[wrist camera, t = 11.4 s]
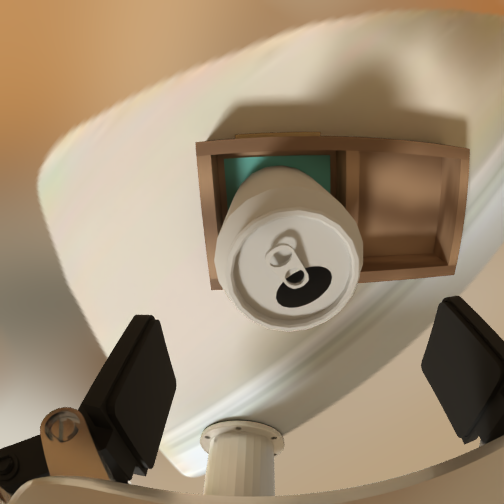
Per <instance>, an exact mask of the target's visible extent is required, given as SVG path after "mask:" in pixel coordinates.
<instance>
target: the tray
mask: <svg viewBox="0 0 504 504" xmlns="http://www.w3.org/2000/svg"><path fill="white" fill-rule="evenodd" d="M195 143H196V155H197V166H198V177H199V188H200V198H201V208H202V217H203V226H204V235H205V244H206V252H207V260H208V268H209V276H210V283H211V290H223V288H222V286H221V285H220V283H219V281H218V276H217V272H216V267H215V262H214V258H215V251H216V244H217V238H218V235H219V233H220V230H221V228H222V225H223V223H224V220H225V218H226V215H227V213H228V210H229V208H230V205H231V203H232V201H233V198H234V196H235V194H236V192H237V190H238V189H239V187H240V185H241V184H242V183H243V182H244V181H245V180H246V179H247V178H248V177H249V176H250V175H251V174H252V173H254V172H257V171H259V170H261V169H263V168H265V167H271V166H280V165H282V166H287V167H292V168H297V169H299V170H300V171H302V172H304V173H306V174H307V175H309V176H310V177H312V178H313V179H314V180H315V181H316V182H317V183H318V184H320V185H321V186H322V187H323V188H324V189H325V190H326V191H328V192H329V193H330V194H331V195H332V196H333V197H334V198H335V199H337V200H338V201H339V202H340V203H341V204H342V205H343V206H344V208H345V209H346V210H347V211H348V213H349V214H350V215H351V216H352V218H353V219H354V220H355V221H356V223H357V226H358V229H359V232H360V235H361V238H362V241H363V266H362V269H361V271H360V278H359V281H358V283H366V282H380V281H392V280H404V279H416V278H426V277H437V276H447V275H454V273H455V269H456V264H457V259H458V254H459V249H460V243H461V237H462V231H463V224H464V217H465V209H466V200H467V189H468V176H469V154H470V149H467V148H461V147H455V146H448V145H441V144H433V143H425V142H416V141H406V140H395V139H382V138H366V137H341V136H320V132H280V133H255V134H239V135H235V139H226V140H214V141H204V142H195Z"/></svg>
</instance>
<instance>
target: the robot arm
mask: <svg viewBox="0 0 504 504" xmlns="http://www.w3.org/2000/svg"><path fill="white" fill-rule="evenodd" d="M421 367H422V371H423V373H424V375H425V377H426V378H427V380H428V382H429V384H430V385H431V387H432V389H433V391H434V392H435V394H436V396H437V398H438V400H439V402H440V403H441V405H442V407H443V409H444V411H445V413H446V414H447V417H448V419H449V421H450V422H451V424H452V426H453V428H454V430H455V432H456V434H457V436H458V437H459V438H462V440H463V442H464V444H466V443H469V442H471V441H474V440H476V439H477V438H478V436H479V437H480V439H481V441H480V445H479V448H477V449H474V450H472V451H470V452H468V453H465V454H463V455H461V456H458V457H456V458H453V459H451V460H448V461H445V462H443V463H440V464H437V465H434V466H432V467H429V468H426V469H423V470H420V471H417V472H413V473H410V474H407V475H403V476H400V477H396V478H392V479H388V480H385V481H380V482H376V483H372V484H367V485H363V486H358V487H352V488H346V489H340V490H334V491H327V492H319V493H310V494H300V495H287V496H275V484H274V483H275V481H274V457H276V456H278V455H279V454H280V453H281V452H282V451H283V449H284V439H283V436H282V435H281V434H280V432H278V431H277V430H275V429H274V428H272V427H270V426H267V425H264V424H261V423H257V422H251V421H225V422H220V423H217V424H213V425H211V426H209V427H207V428H206V429H205V430H204V431H203V432H202V434H201V438H200V444H201V447H202V448H203V449H204V451H206V452H207V453H208V454H209V455H208V462H207V469H206V476H205V483H204V490H203V494H191V493H181V492H173V491H166V490H159V489H153V488H148V487H142V486H137V485H132V484H131V482H130V480H131V479H132V476H133V474H137V475H142V476H146V474H147V470H148V468H149V469H152V468H153V466H154V463H155V459H156V456H157V452H158V449H159V445H160V442H161V438H162V435H163V431H164V428H165V424H166V421H167V417H168V414H169V411H170V407H171V404H172V401H173V397H174V394H175V391H176V378H175V375H174V372H173V368H172V365H171V361H170V358H169V354H168V351H167V347H166V343H165V340H164V336H163V332H162V328H161V324H160V321H159V320H155V318H154V316H152V315H135V316H134V317H133V319H132V320H131V322H130V323H129V325H128V327H127V328H126V330H125V331H124V333H123V335H122V336H121V338H120V339H119V341H118V343H117V344H116V346H115V347H114V349H113V351H112V352H111V354H110V356H109V357H108V359H107V361H106V362H105V364H104V365H103V367H102V369H101V371H100V372H99V374H98V376H97V377H96V379H95V381H94V382H93V384H92V386H91V388H90V389H89V391H88V393H87V395H86V397H85V398H84V400H83V402H82V404H81V405H80V407H79V409H78V410H77V409H74V408H71V407H63V408H58V409H56V410H53V411H51V412H50V413H49V414H48V415H46V417H45V418H44V419H43V421H42V423H41V426H40V435H37V436H35V437H32V438H30V439H27V440H24V441H21V442H19V443H16V444H13V445H11V446H7V447H5V448H2V449H0V504H504V341H503V340H502V339H501V338H500V337H499V336H498V334H497V333H496V332H495V331H494V330H493V329H492V328H491V327H490V326H489V325H488V324H487V323H486V322H485V321H484V320H483V319H482V318H481V317H480V316H479V315H478V314H477V313H476V312H475V311H474V310H473V309H472V308H471V307H470V306H469V305H468V304H467V303H466V302H465V301H464V300H463V299H462V298H461V297H459V296H453V297H446V298H444V299H443V301H442V302H441V303H440V304H439V306H438V310H437V314H436V317H435V321H434V324H433V328H432V331H431V335H430V338H429V341H428V344H427V348H426V351H425V354H424V357H423V360H422V364H421Z"/></svg>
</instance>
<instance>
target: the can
mask: <svg viewBox="0 0 504 504" xmlns="http://www.w3.org/2000/svg"><path fill="white" fill-rule="evenodd" d="M214 262H215V267H216V272H217V276H218V281H219V283H220V285H221V286H222V288H223V290H224V291H225V293H226V295H227V296H228V298H229V300H231V301H232V302H233V303H234V305H235V306H236V308H237V309H238V310H239V311H240V312H241V313H242V314H244V315H245V316H246V317H247V318H248V319H249V320H251V321H252V322H254V323H256V324H259V325H261V326H263V327H266V328H268V329H273V330H280V331H287V332H290V331H298V330H306V329H310V328H312V327H315V326H317V325H320V324H322V323H325V322H327V321H328V320H329V319H331V318H332V317H333V316H335V315H336V314H337V313H339V312H340V311H341V310H342V309H343V308H344V307H345V305H346V304H347V303H348V301H349V300H350V299H351V297H352V296H353V294H354V292H355V289H356V286H357V283H358V281H359V278H360V271H361V269H362V266H363V241H362V238H361V235H360V232H359V229H358V226H357V223H356V221H355V220H354V219H353V218H352V216H351V215H350V214H349V213H348V211H347V210H346V209H345V208H344V206H343V205H342V204H341V203H340V202H339V201H338V200H337V199H335V198H334V197H333V196H332V195H331V194H330V193H329V192H328V191H326V190H325V189H324V188H323V187H322V186H321V185H320V184H318V183H317V182H316V181H315V180H314V179H313V178H312V177H310V176H309V175H307V174H306V173H304V172H302V171H300V170H299V169H297V168H292V167H287V166H282V165H280V166H271V167H265V168H263V169H261V170H259V171H257V172H254V173H252V174H251V175H250V176H249V177H248V178H247V179H246V180H245V181H244V182H243V183H242V184H241V185H240V187H239V189H238V190H237V192H236V194H235V196H234V198H233V201H232V203H231V205H230V208H229V210H228V213H227V215H226V218H225V220H224V223H223V225H222V228H221V230H220V233H219V235H218V238H217V244H216V251H215V258H214Z"/></svg>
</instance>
